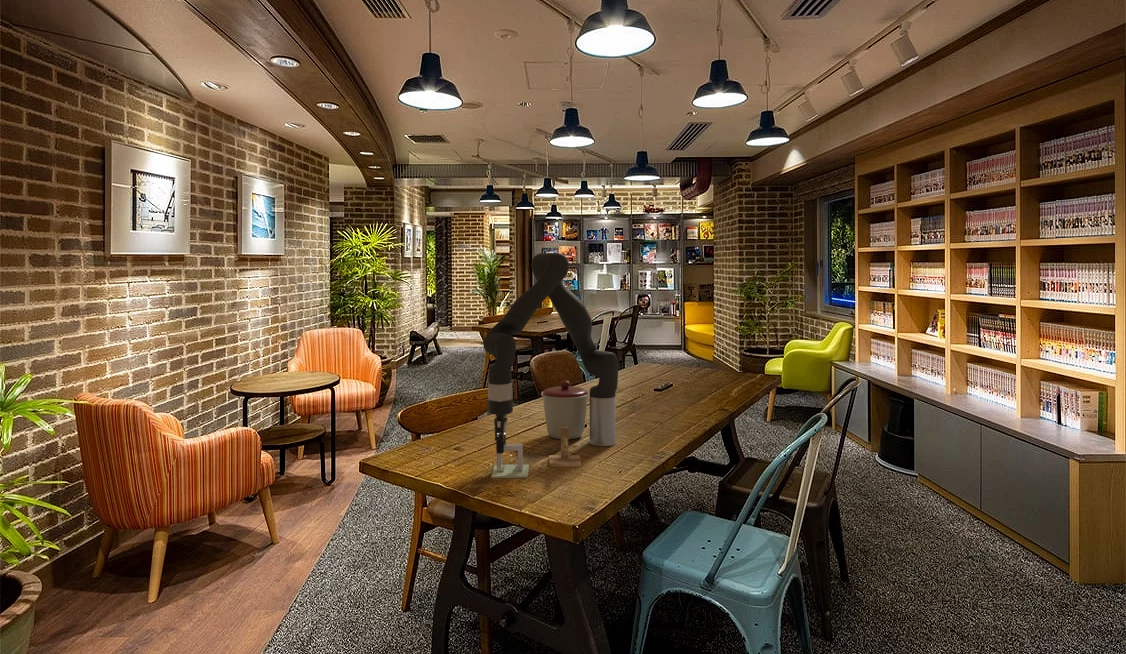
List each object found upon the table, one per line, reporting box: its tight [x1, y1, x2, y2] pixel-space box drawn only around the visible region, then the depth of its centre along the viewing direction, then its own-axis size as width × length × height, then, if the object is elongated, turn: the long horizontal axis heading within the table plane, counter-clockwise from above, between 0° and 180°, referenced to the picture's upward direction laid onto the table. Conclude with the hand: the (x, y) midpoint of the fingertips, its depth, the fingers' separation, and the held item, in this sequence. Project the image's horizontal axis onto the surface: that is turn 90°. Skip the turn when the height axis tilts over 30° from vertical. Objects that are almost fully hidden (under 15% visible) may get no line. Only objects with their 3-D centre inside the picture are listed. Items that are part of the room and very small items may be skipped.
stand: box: [548, 427, 582, 468], centre depth 202 cm, size 19×10×11 cm, turn 1°
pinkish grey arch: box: [495, 442, 524, 472], centre depth 197 cm, size 3×8×8 cm, turn 91°
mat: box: [490, 463, 530, 479], centre depth 198 cm, size 11×11×1 cm
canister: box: [540, 380, 590, 440], centre depth 237 cm, size 18×18×21 cm
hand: (501, 449), depth 197 cm, fingers open, 8 cm apart
